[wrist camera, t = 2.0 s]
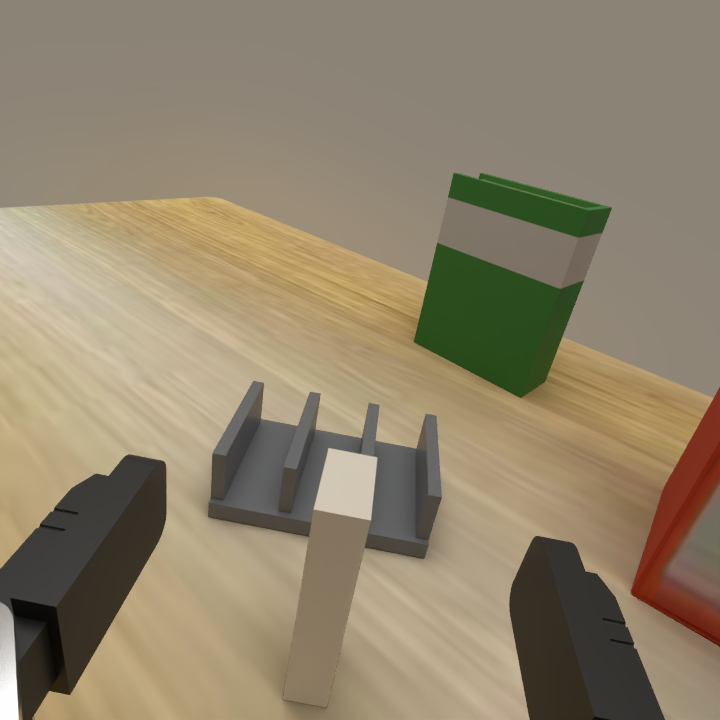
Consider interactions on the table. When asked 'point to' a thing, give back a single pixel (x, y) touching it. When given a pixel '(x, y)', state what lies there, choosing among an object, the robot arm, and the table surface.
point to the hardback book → (507, 278)
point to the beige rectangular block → (330, 574)
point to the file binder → (688, 537)
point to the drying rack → (304, 471)
